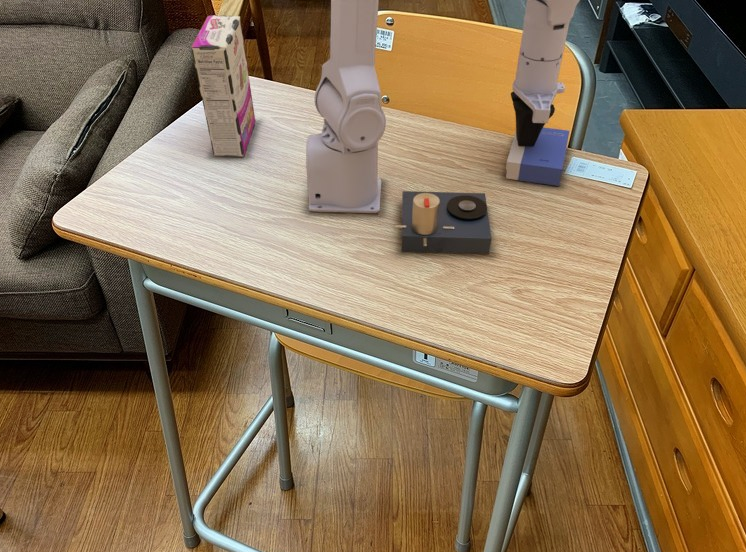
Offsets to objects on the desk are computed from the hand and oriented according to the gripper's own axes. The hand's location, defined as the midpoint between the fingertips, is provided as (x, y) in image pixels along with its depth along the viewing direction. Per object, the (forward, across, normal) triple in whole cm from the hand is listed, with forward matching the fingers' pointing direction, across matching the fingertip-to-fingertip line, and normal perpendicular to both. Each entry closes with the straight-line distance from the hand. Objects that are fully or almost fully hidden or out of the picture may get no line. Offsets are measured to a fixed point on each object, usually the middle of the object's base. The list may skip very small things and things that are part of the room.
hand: (524, 145), depth 98 cm
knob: (0, -22, +15) cm, 26 cm away
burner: (0, -17, +10) cm, 20 cm away
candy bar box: (+2, +4, +44) cm, 44 cm away
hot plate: (+2, -19, +13) cm, 23 cm away
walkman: (+1, -7, 0) cm, 7 cm away
